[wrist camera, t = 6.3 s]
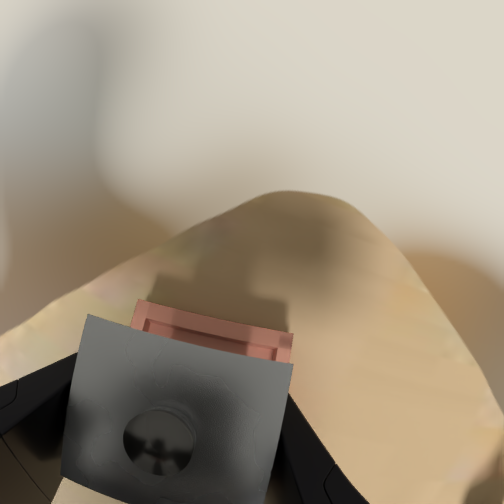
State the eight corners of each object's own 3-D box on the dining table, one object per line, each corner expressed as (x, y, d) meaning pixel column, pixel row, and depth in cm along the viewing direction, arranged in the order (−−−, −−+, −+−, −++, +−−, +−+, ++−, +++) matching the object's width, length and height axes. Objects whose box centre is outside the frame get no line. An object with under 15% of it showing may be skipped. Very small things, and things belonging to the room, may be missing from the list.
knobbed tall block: (232, 434, 16) (261, 548, 4) (152, 416, 16) (41, 485, 4) (246, 366, 18) (305, 363, 6) (166, 348, 18) (70, 305, 6)
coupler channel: (261, 479, 16) (267, 490, 13) (112, 444, 15) (100, 450, 13) (287, 339, 20) (296, 334, 18) (143, 307, 20) (135, 298, 17)
